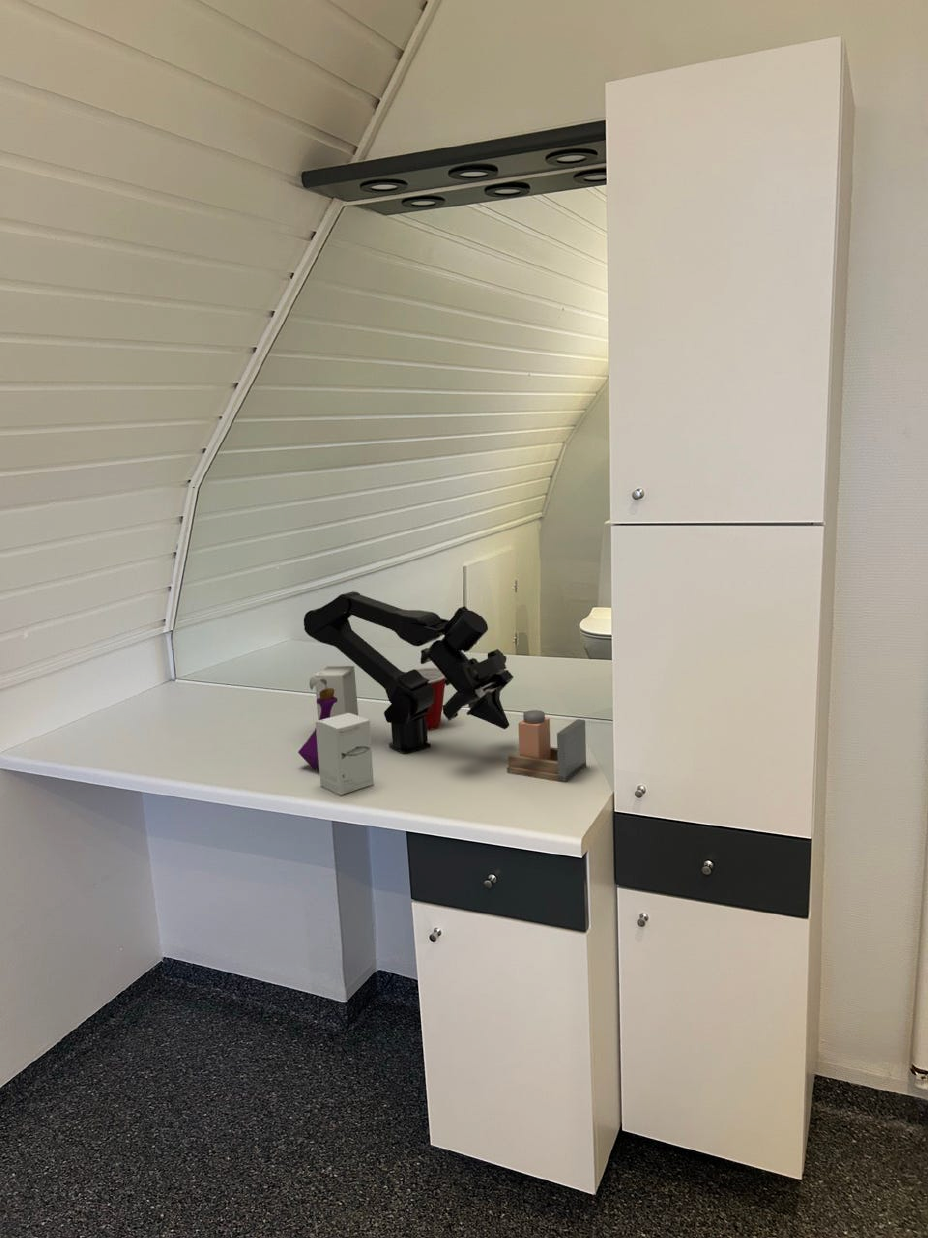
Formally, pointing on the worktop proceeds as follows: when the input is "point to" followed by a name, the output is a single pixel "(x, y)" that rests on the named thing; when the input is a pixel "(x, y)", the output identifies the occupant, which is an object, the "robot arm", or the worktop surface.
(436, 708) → the plastic cup
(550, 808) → the worktop surface
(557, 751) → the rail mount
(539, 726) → the knob slider
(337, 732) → the supplement box
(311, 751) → the perfume bottle
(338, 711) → the skincare box
